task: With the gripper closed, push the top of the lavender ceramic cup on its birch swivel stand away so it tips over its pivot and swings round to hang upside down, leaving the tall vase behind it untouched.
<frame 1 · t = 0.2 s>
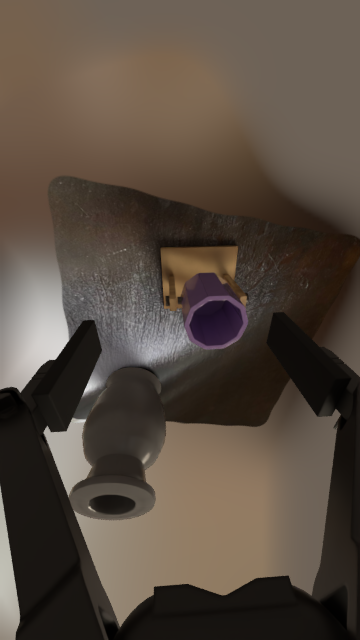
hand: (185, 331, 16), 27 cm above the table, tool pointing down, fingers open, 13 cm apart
vase: (134, 384, 55), on the table
cup: (209, 308, 30), point 14 cm above the table, hinge at 0.0°
swivel stand: (198, 277, 41), on the table
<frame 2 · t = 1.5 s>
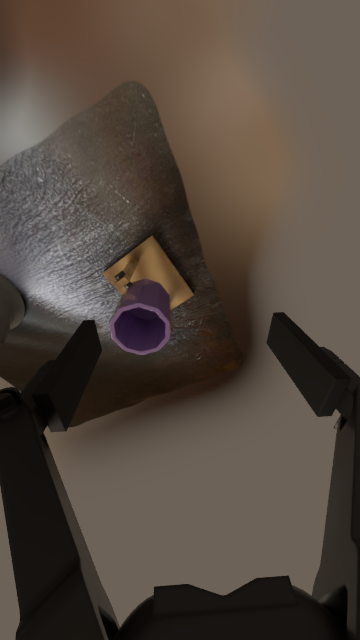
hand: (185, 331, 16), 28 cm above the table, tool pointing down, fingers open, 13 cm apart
cup: (143, 314, 31), point 13 cm above the table, hinge at 0.0°
swivel stand: (150, 283, 42), on the table
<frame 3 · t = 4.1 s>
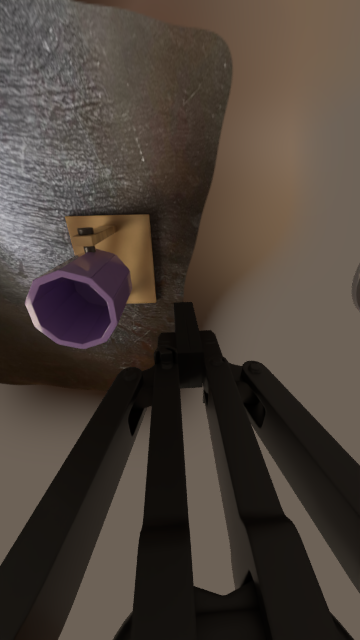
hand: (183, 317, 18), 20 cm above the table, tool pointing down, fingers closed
cup: (89, 294, 23), point 14 cm above the table, hinge at 0.0°
swivel stand: (116, 262, 34), on the table
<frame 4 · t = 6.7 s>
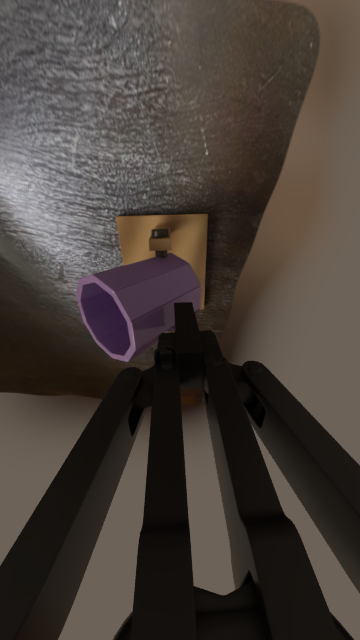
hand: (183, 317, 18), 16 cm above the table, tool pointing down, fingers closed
cup: (143, 302, 20), point 13 cm above the table, hinge at 41.1°
swivel stand: (165, 266, 32), on the table
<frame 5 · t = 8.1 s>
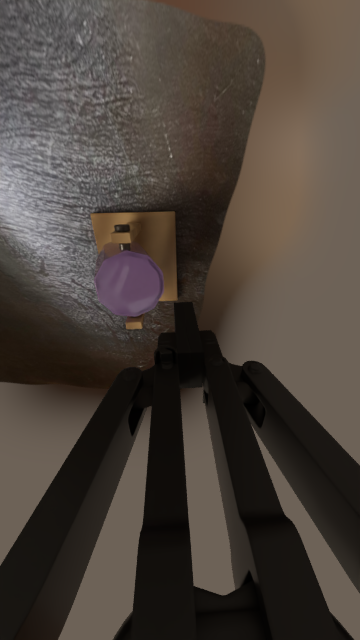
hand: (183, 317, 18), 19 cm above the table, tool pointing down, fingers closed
cup: (127, 274, 28), point 8 cm above the table, hinge at 165.6°
swivel stand: (139, 260, 34), on the table
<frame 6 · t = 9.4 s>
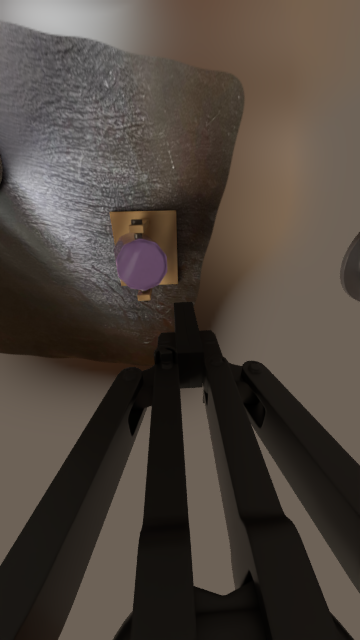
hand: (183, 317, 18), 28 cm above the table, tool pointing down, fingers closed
cup: (138, 259, 36), point 8 cm above the table, hinge at 165.6°
swivel stand: (147, 250, 42), on the table
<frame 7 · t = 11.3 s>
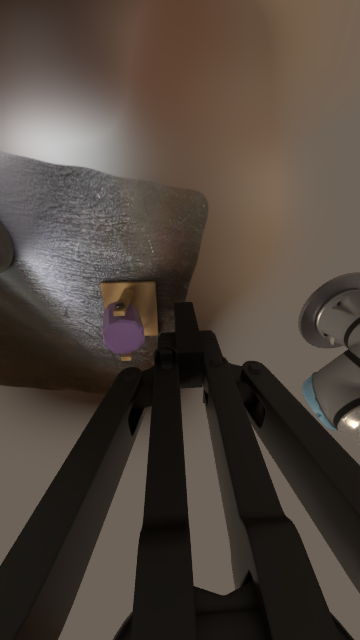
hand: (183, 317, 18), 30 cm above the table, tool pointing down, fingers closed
cup: (123, 325, 44), point 8 cm above the table, hinge at 165.6°
swivel stand: (132, 309, 50), on the table
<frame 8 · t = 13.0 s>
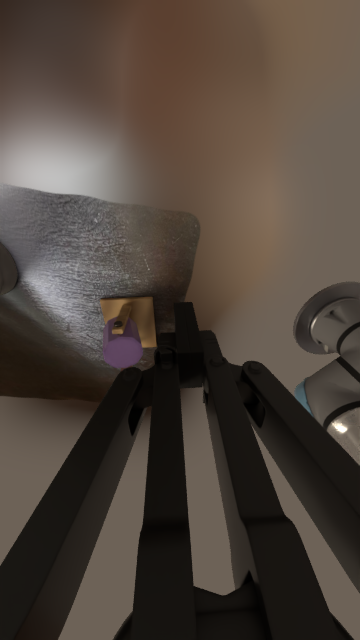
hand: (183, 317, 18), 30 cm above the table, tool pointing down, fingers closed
cup: (122, 340, 46), point 8 cm above the table, hinge at 165.6°
swivel stand: (130, 323, 53), on the table
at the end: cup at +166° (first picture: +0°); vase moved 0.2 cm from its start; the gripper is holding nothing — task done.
